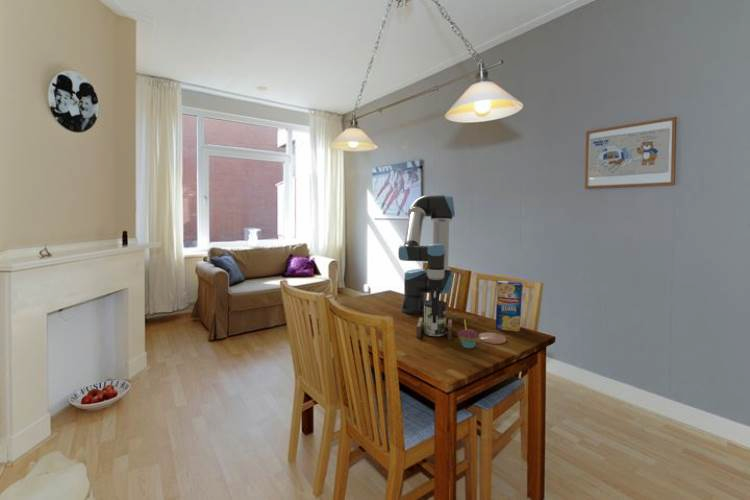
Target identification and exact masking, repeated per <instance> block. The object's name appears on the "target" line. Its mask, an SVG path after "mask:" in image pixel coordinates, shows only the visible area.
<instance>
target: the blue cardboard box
mask: <svg viewBox="0 0 750 500" xmlns="http://www.w3.org/2000/svg"><path fill="white" fill-rule="evenodd" d="M522 292H523V282H521V281H519V282H518V281H502V280H497V284H496V305H495V306H496V309H495V310H496V311H495V330H502V331H503V330H504V331H512V332H519V331H520V332H521V317H522V315H521V314H522Z"/></svg>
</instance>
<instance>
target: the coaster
mask: <svg viewBox="0 0 750 500" xmlns="http://www.w3.org/2000/svg"><path fill="white" fill-rule="evenodd" d="M479 337H480V339H479V340H478V341H480V342H483V343H485V344H491V345H502V344H505V343H507V337H506V336H505V335H503V334H499V333H496V332H481V333H479Z"/></svg>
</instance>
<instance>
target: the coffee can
mask: <svg viewBox="0 0 750 500" xmlns="http://www.w3.org/2000/svg"><path fill="white" fill-rule="evenodd" d="M447 305H448V304H447V302H446V301H444V300H440V299H439V301H438V306H437V314H438V321H437V330H431V315H430V314H431V311H432V300H431V299H428V300H426V301H425V302H424V313H423V324H424V329H423V334H425V335H426V336H431V337H441V336H442V337H443V336H445V335H446V334H447V330H446V326H447ZM433 313H436V312H433Z"/></svg>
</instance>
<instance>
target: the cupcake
mask: <svg viewBox="0 0 750 500" xmlns="http://www.w3.org/2000/svg"><path fill="white" fill-rule="evenodd" d="M463 323H464V329H462V330H460V331H458V334H457V335H458V339H460V342H461V345H462V347H463V348H465V349H473V348H475V345H476V343H477V341H480V340H479V339H480V337H479V334H480V333H478V332H477V331H476V330H475V329H472V328H467V321H466V319H465V317H463Z"/></svg>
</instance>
